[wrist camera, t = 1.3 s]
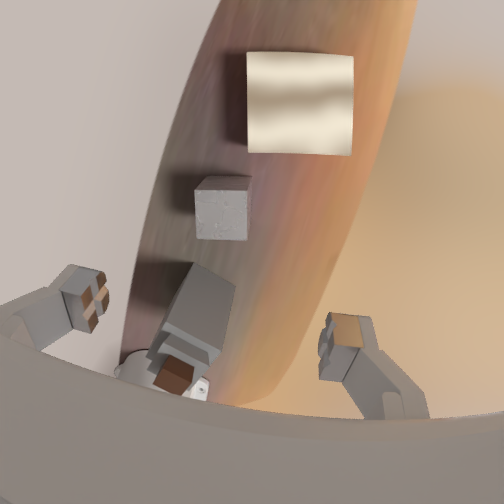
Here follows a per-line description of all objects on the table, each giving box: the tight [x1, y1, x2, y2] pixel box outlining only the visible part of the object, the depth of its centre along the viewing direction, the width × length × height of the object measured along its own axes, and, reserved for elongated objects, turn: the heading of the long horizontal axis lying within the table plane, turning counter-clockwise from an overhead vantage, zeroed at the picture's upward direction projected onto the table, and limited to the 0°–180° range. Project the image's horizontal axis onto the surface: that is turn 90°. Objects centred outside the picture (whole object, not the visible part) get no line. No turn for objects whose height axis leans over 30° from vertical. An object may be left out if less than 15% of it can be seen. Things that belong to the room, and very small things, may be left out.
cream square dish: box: [247, 52, 353, 156], centre depth 33 cm, size 11×11×5 cm
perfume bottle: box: [145, 263, 236, 396], centre depth 39 cm, size 7×7×18 cm
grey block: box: [194, 176, 252, 240], centre depth 37 cm, size 6×6×7 cm
